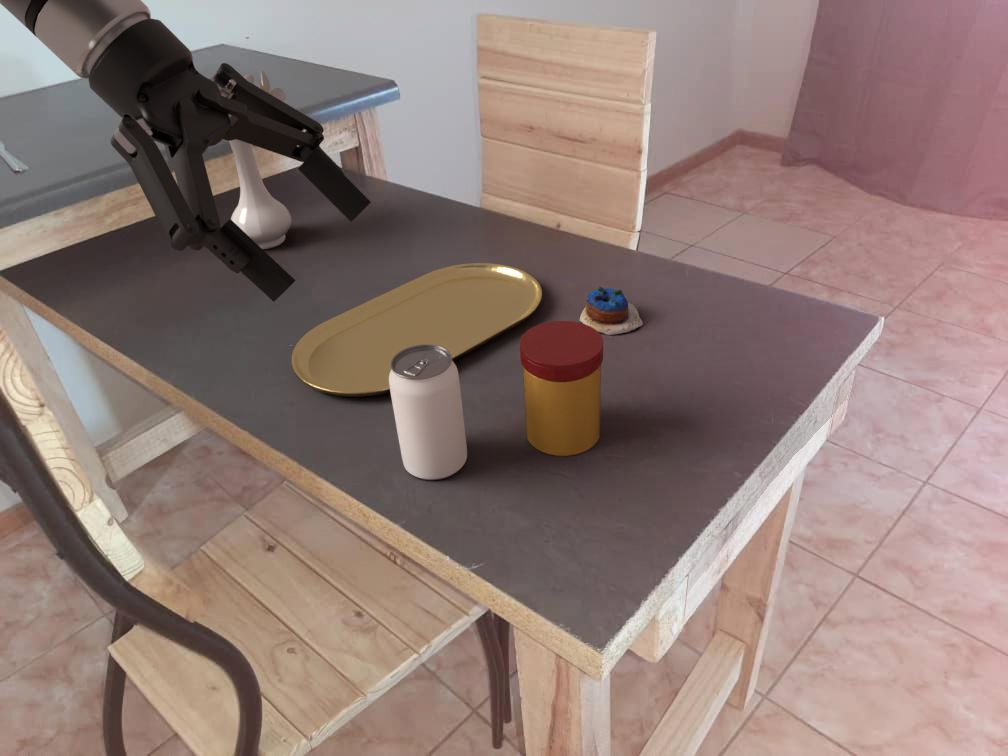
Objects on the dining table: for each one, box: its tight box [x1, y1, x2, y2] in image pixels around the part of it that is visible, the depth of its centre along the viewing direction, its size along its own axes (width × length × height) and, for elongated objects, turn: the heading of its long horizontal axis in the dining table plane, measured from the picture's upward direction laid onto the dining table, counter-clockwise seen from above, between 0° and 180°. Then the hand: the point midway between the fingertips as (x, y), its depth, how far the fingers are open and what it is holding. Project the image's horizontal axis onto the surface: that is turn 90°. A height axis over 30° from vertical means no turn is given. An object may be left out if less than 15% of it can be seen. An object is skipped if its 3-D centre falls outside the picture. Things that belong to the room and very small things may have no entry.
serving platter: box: [290, 262, 543, 398], centre depth 98 cm, size 19×35×2 cm, turn 135°
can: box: [389, 344, 468, 481], centre depth 74 cm, size 6×6×12 cm
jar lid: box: [519, 320, 604, 381], centre depth 74 cm, size 8×8×2 cm
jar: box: [522, 364, 602, 457], centre depth 77 cm, size 8×8×10 cm
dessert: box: [579, 286, 644, 336], centre depth 97 cm, size 8×7×6 cm
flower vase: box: [228, 70, 293, 250], centre depth 116 cm, size 13×18×25 cm
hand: (326, 249), depth 66 cm, fingers open, 13 cm apart
